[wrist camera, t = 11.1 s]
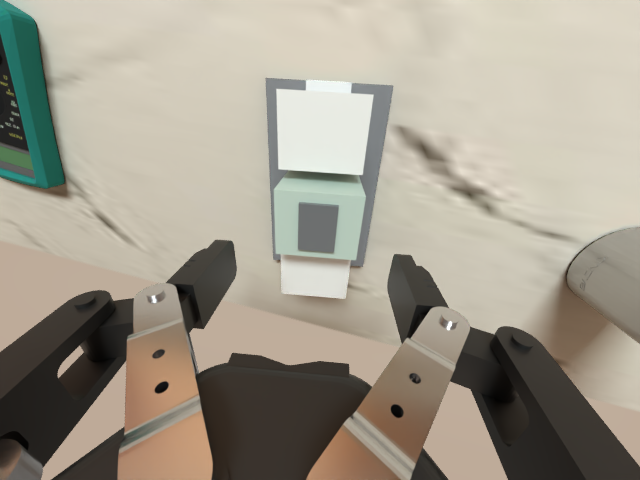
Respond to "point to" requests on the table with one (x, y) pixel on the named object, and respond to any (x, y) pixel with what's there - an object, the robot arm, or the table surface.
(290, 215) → the block
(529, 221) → the table surface
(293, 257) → the rail panel
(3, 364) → the robot arm
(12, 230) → the table surface
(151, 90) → the table surface
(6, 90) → the digital multimeter
